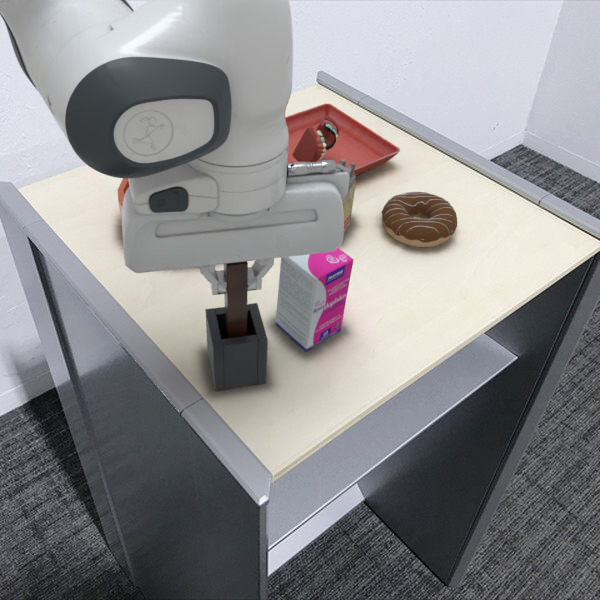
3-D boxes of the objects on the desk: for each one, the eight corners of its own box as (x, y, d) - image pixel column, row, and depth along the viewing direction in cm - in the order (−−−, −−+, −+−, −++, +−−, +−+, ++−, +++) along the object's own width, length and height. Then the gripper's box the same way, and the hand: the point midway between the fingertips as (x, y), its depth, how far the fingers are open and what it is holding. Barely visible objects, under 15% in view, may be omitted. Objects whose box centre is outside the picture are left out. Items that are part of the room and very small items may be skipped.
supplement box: (307, 354, 76) (315, 279, 69) (274, 324, 79) (277, 250, 72) (343, 331, 79) (355, 257, 71) (310, 303, 82) (317, 230, 75)
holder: (215, 391, 72) (213, 347, 67) (207, 353, 76) (205, 309, 71) (266, 383, 73) (267, 340, 68) (256, 346, 77) (257, 302, 72)
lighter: (334, 247, 91) (342, 185, 84) (309, 239, 92) (315, 177, 85) (353, 220, 96) (362, 159, 89) (329, 212, 97) (336, 151, 90)
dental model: (334, 154, 104) (309, 175, 98) (313, 137, 104) (287, 158, 98) (350, 126, 99) (324, 147, 94) (328, 109, 100) (301, 129, 94)
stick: (228, 376, 73) (226, 266, 62) (225, 362, 75) (223, 252, 64) (246, 373, 74) (247, 263, 63) (243, 360, 75) (244, 250, 64)
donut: (436, 263, 90) (443, 240, 87) (366, 234, 93) (370, 211, 90) (465, 224, 96) (472, 201, 94) (399, 199, 100) (403, 176, 97)
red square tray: (310, 205, 97) (312, 186, 95) (240, 149, 107) (240, 131, 105) (399, 168, 106) (402, 149, 104) (326, 119, 116) (328, 102, 113)
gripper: (342, 140, 61) (328, 256, 70) (110, 157, 56) (129, 278, 66) (363, 178, 56) (345, 297, 66) (114, 200, 52) (133, 324, 62)
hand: (235, 288), depth 66 cm, fingers closed on stick, 2 cm apart
